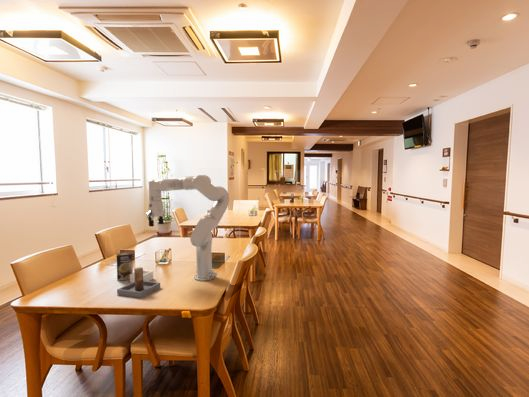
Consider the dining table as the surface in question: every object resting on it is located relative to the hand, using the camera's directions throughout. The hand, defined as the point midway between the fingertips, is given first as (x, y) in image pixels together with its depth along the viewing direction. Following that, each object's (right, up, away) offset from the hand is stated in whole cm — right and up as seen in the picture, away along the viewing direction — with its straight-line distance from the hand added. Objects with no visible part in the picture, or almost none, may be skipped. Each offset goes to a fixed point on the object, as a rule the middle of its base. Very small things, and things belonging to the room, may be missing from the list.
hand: (156, 225), depth 196 cm
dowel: (-1, -34, -25) cm, 43 cm away
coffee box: (-19, -34, -4) cm, 39 cm away
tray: (-1, -35, -25) cm, 43 cm away
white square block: (-6, -34, -8) cm, 35 cm away
